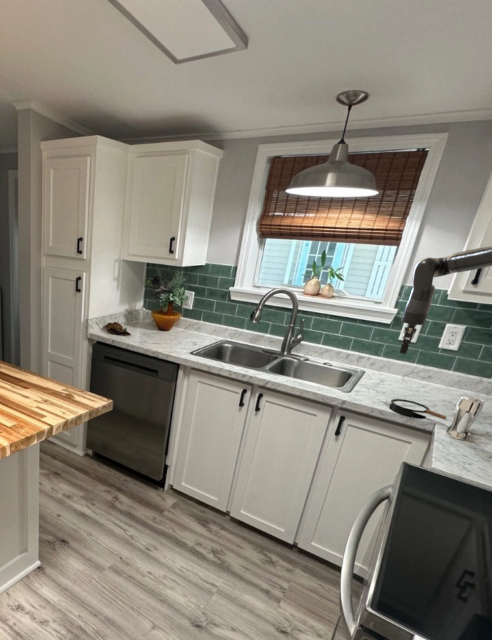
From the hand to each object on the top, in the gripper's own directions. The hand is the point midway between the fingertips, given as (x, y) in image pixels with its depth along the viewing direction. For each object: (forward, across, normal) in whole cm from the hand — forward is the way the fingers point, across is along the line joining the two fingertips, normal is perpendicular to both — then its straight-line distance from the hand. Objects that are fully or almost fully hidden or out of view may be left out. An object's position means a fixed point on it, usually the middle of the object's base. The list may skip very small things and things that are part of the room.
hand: (403, 351), depth 165 cm
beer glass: (+26, -12, -24) cm, 37 cm away
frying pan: (+26, +1, -11) cm, 28 cm away
